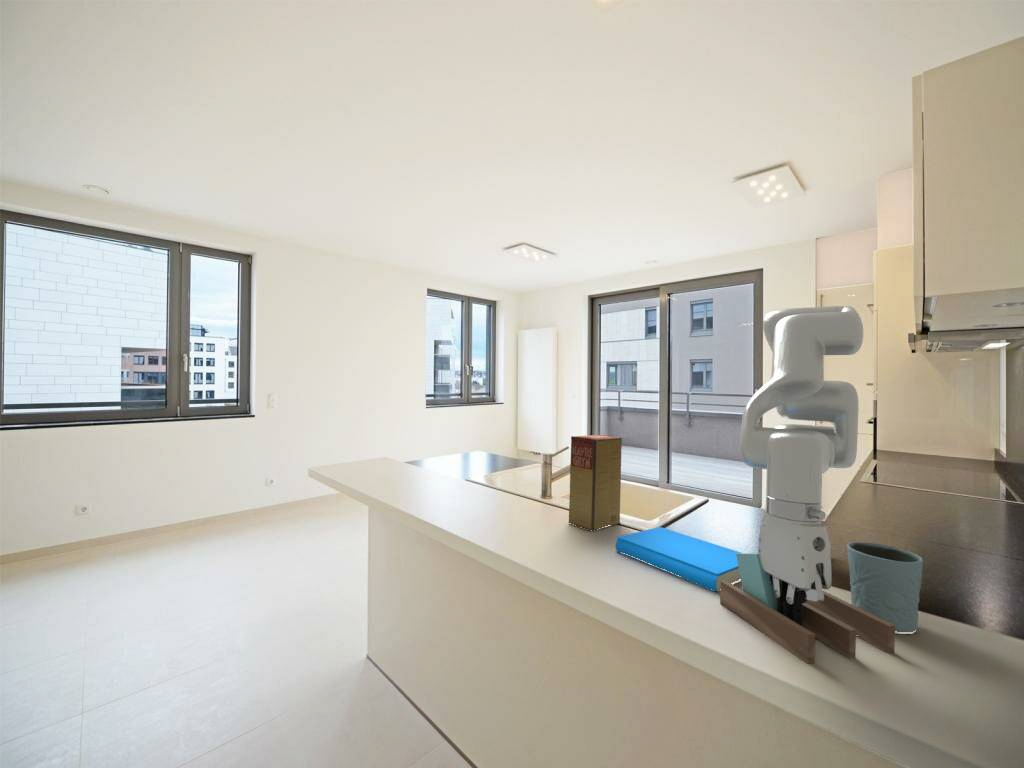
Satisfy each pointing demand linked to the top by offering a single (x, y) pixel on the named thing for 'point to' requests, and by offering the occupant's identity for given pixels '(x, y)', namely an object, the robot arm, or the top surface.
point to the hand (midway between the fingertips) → (789, 624)
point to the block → (756, 579)
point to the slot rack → (812, 624)
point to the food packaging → (595, 481)
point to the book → (683, 556)
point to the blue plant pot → (886, 583)
